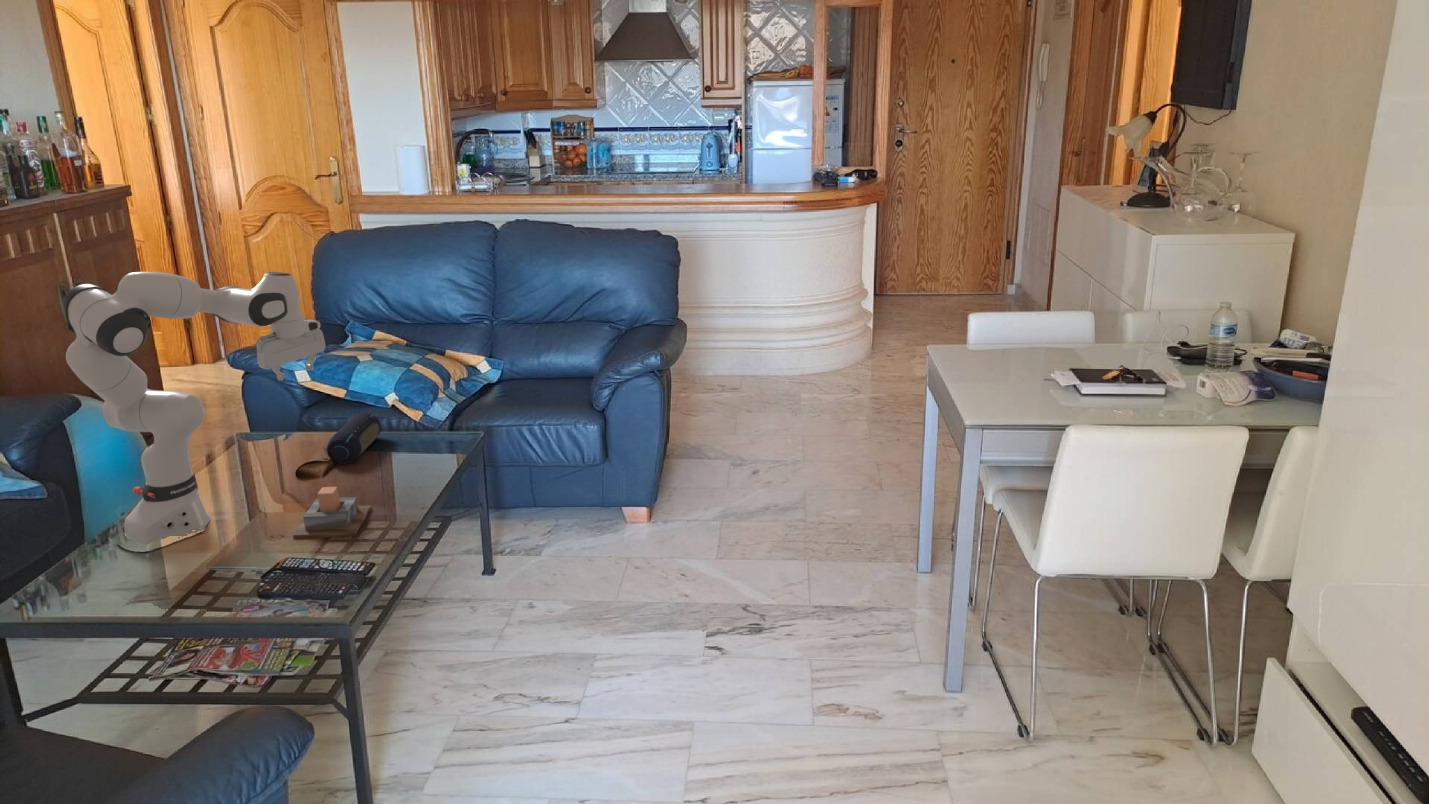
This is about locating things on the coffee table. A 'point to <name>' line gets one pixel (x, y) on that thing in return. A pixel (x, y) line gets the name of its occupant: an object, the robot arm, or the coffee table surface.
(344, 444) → the portable speaker
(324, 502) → the post
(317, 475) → the sunglasses case
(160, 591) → the coffee table surface
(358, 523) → the well
